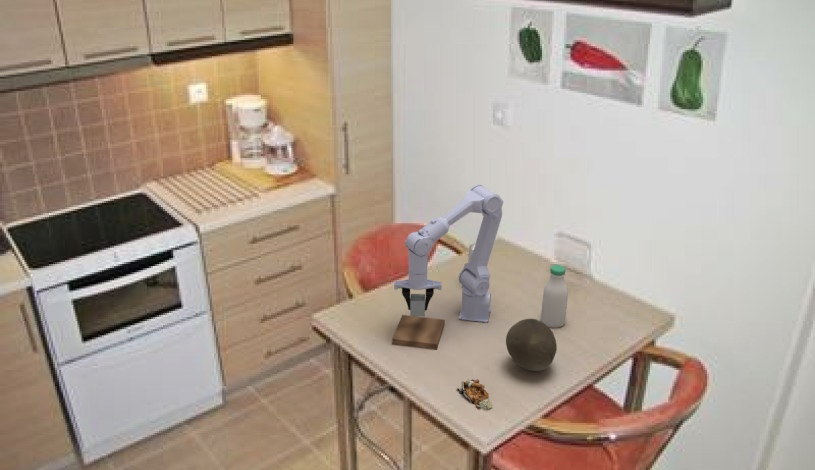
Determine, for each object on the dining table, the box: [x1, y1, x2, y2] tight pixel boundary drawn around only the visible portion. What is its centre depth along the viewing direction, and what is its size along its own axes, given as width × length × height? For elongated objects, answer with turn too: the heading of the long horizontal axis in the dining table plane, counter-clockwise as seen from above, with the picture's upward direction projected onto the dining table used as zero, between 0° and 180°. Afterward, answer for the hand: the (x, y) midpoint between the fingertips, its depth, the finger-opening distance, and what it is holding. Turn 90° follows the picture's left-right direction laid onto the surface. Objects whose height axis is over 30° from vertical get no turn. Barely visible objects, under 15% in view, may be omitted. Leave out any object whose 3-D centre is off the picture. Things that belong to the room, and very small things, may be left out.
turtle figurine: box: [455, 379, 494, 412], centre depth 192 cm, size 7×12×4 cm, turn 34°
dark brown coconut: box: [505, 318, 558, 372], centre depth 201 cm, size 14×14×15 cm
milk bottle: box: [540, 264, 569, 329], centre depth 222 cm, size 8×8×20 cm
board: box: [391, 314, 446, 350], centre depth 220 cm, size 14×14×2 cm
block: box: [409, 293, 426, 318], centre depth 218 cm, size 4×4×6 cm
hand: (417, 308), depth 218 cm, fingers closed on block, 4 cm apart
